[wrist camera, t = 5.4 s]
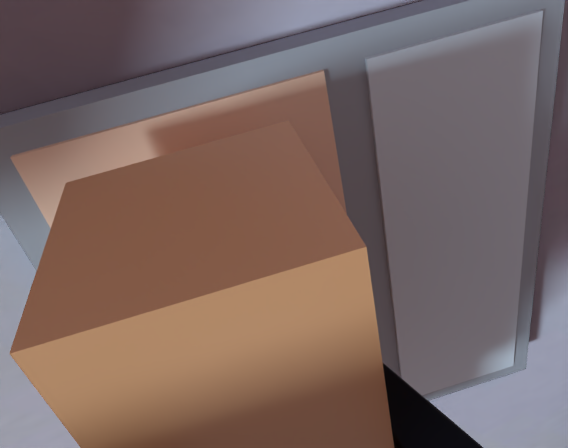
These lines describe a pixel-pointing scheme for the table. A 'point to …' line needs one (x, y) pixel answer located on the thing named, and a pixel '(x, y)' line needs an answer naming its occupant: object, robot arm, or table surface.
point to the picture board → (359, 160)
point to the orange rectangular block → (208, 305)
